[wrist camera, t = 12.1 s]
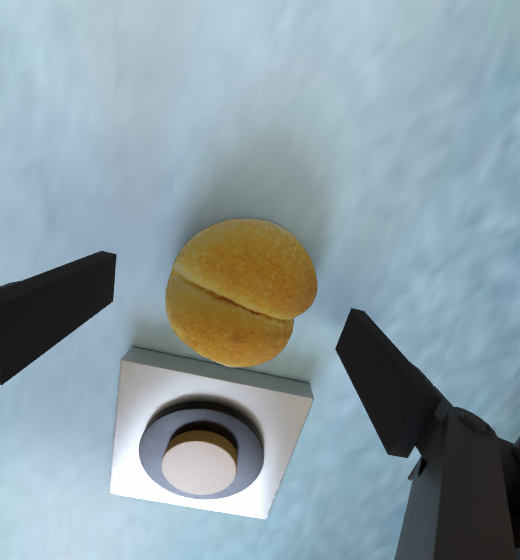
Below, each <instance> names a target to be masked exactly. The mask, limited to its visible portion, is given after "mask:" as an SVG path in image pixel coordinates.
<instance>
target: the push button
mask: <svg viewBox="0 0 520 560" xmlns="http://www.w3.org/2000/svg"><path fill="white" fill-rule="evenodd" d="M313 400H314V397H313V393H312V390H311V386H310V384H309V383H304V382H299V381H294V380H289V379H285V378H280V377H275V376H270V375H265V374H261V373H256V372H251V371H246V370H241V369H236V368H232V367H227V366H222V365H217V364H212V363H208V362H203V361H198V360H193V359H188V358H184V357H179V356H174V355H169V354H164V353H160V352H155V351H150V350H145V349H140V348H135V347H131V348H130V350H129V351H128V352H127V353H126V354H125V356H124V357H123V358H122V359H121V367H120V378H119V389H118V400H117V411H116V422H115V433H114V444H113V455H112V467H111V478H110V489H109V494H115V495H121V496H127V497H133V498H139V499H145V500H151V501H157V502H163V503H169V504H175V505H181V506H188V507H194V508H200V509H206V510H212V511H218V512H224V513H230V514H236V515H242V516H248V517H254V518H260V519H267V517H268V514H269V512H270V509H271V507H272V504H273V502H274V499H275V497H276V494H277V492H278V489H279V486H280V484H281V481H282V479H283V476H284V474H285V471H286V469H287V466H288V464H289V461H290V458H291V456H292V453H293V451H294V448H295V446H296V443H297V441H298V438H299V436H300V433H301V430H302V428H303V425H304V423H305V420H306V418H307V415H308V413H309V410H310V407H311V405H312V402H313Z"/></svg>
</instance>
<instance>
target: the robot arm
mask: <svg viewBox="0 0 520 560" xmlns="http://www.w3.org/2000/svg"><path fill="white" fill-rule="evenodd" d="M115 267H116V254H113V253H108V252H104V251H100V252H97V253H95V254H92V255H89V256H87V257H84V258H81V259H79V260H76V261H73V262H71V263H68V264H65V265H63V266H60V267H57V268H55V269H52V270H49V271H47V272H44V273H41V274H39V275H36V276H33V277H31V278H28V279H25V280H23V281H18V282H12V283H8V284H6V285H3V286H0V385H3V384H4V383H5V382H7V381H8V380H9V379H11V378H12V377H13V376H15V375H16V374H17V373H19V372H20V371H21V370H23V369H24V368H25V367H26V366H28V365H29V364H30V363H32V362H33V361H34V360H36V359H37V358H38V357H40V356H41V355H42V354H44V353H45V352H46V351H48V350H49V349H50V348H52V347H53V346H54V345H56V344H57V343H58V342H60V341H61V340H62V339H64V338H65V337H66V336H68V335H69V334H70V333H72V332H73V331H74V330H76V329H77V328H78V327H80V326H81V325H82V324H84V323H85V322H86V321H88V320H89V319H90V318H91V317H93V316H94V315H95V314H97V313H98V312H99V311H101V310H102V309H103V308H105V307H106V306H107V305H109V304H110V303H111V302H113V294H114V281H115ZM335 349H336V351H337V353H338V355H339V357H340V359H341V361H342V363H343V365H344V367H345V369H346V371H347V373H348V375H349V377H350V379H351V381H352V383H353V385H354V387H355V389H356V391H357V393H358V395H359V397H360V399H361V401H362V403H363V405H364V407H365V409H366V411H367V413H368V416H369V418H370V420H371V422H372V424H373V426H374V428H375V430H376V432H377V434H378V436H379V438H380V440H381V442H382V444H383V446H384V448H385V450H386V452H387V454H388V455H393V456H399V457H404V458H408V457H409V455H410V453H411V452H412V450H413V448H414V446H416V447H417V449H418V451H419V452H420V454H421V455H422V456H421V457H420V459H419V461H418V462H417V464H416V466H415V467H414V469H413V471H412V472H411V474H410V475H409V477H408V479H409V480H410V481H411V480H412V479H413V482H412V486H411V491H410V495H409V499H408V504H407V508H406V512H405V517H404V521H403V525H402V530H401V534H400V538H399V543H398V547H397V551H396V556H395V560H520V437H519V438H518V440H517V441H516V442H515V444H513V443H510V442H508V441H506V440H503V439H501V438H498V437H497V435H496V433H495V431H494V430H493V429H492V428H491V427H490V426H489V425H488V424H487V423H486V422H485V421H483V420H482V419H481V418H479V417H478V416H476V415H475V414H473V413H471V412H469V411H467V410H465V409H462V408H458V407H453V406H452V405H451V404H450V402H449V401H448V400H447V399H446V398H445V397H444V396H443V395H442V394H441V393H440V391H439V390H438V389H437V388H436V387H435V386H433V384H432V383H431V382H430V381H429V379H427V377H426V376H425V375H424V374H423V373H422V372H421V371H420V370H419V369H418V368H417V367H416V366H414V365H413V364H412V363H410V362H409V361H408V360H407V359H406V357H405V356H404V355H403V354H402V353H401V352H400V351H399V350H398V349H397V347H396V346H395V345H394V344H393V343H392V342H391V341H390V340H389V338H388V337H387V336H386V335H385V334H384V333H383V332H382V331H381V330H380V328H379V327H378V326H377V325H376V324H375V323H374V322H373V321H372V320H371V318H370V317H369V316H368V315H367V314H366V313H365V312H364V311H361V310H357V309H353V308H351V310H350V313H349V315H348V318H347V321H346V323H345V326H344V328H343V331H342V333H341V336H340V338H339V341H338V343H337V346H336V348H335Z"/></svg>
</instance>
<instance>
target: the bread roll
mask: <svg viewBox="0 0 520 560" xmlns="http://www.w3.org/2000/svg"><path fill="white" fill-rule="evenodd" d="M316 293H317V278H316V273H315V269H314V266H313V263H312V261H311V258H310V256H309V255H308V253H307V252H306V250H305V249H304V247H303V246H302V244H301V243H300V242H299V241H298V239H297V238H296V237H295V236H294V235H293V234H292V233H291V232H289V231H288V230H287V229H285V228H283V227H281V226H280V225H278V224H275V223H273V222H270V221H267V220H262V219H229V220H225V221H222V222H219V223H215V224H213V225H211V226H209V227H207V228H205V229H203V230H201V231H200V232H199V233H197V234H196V235H195V236H194V237H192V238H191V239H190V240H189V241H188V242H187V243H186V244H185V245H184V246H183V247H182V249H181V250H180V252H179V254H178V255H177V257H176V259H175V262H174V264H173V268H172V272H171V274H170V277H169V280H168V285H167V288H166V312H167V317H168V320H169V322H170V325H171V327H172V329H173V331H174V333H175V334H176V335H177V336H178V337H179V338H180V339H181V340H182V341H183V342H184V343H185V344H186V345H187V346H189V347H190V348H192V349H193V350H194V351H195V352H197V353H198V354H199V355H200V356H204V357H206V358H208V359H210V360H213V361H214V362H217V363H220V364H223V365H224V366H227V367H233V368H234V367H251V366H255V365H259V364H262V363H264V362H267V361H269V360H271V359H272V358H274V357H275V356H276V355H277V354H279V353H280V352H281V351H282V350H283V349H284V347H285V346H286V344H287V342H288V340H289V338H290V336H291V334H292V331H293V324H294V318H295V317H296V316H298V315H300V314H302V313H303V312H305V311H306V310H307V309H308V308H309V307H310V306H311V305H312V303H313V301H314V299H315V297H316Z"/></svg>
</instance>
